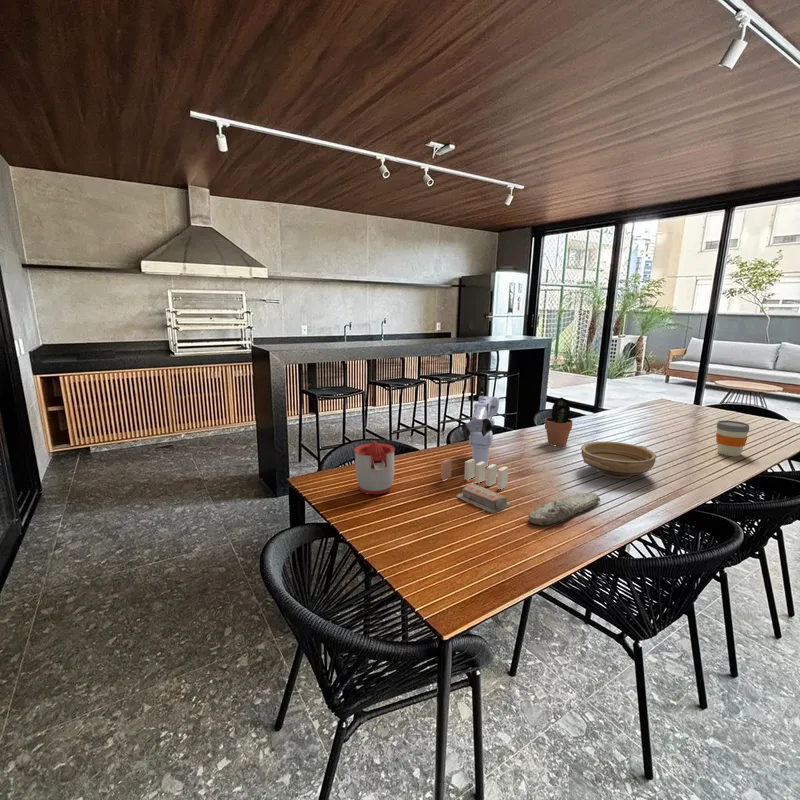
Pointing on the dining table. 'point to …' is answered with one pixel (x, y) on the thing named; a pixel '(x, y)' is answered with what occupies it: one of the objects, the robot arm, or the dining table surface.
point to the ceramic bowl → (618, 458)
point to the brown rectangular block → (445, 469)
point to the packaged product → (483, 498)
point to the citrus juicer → (374, 467)
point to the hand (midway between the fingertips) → (473, 436)
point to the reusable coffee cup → (731, 437)
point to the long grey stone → (562, 508)
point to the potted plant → (559, 423)
